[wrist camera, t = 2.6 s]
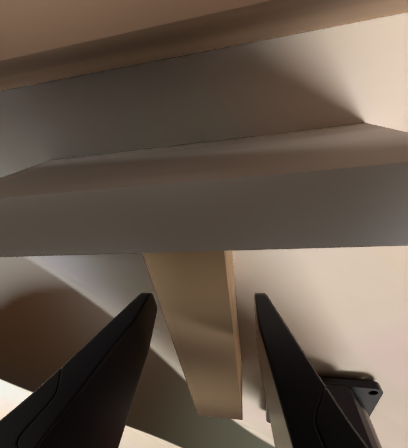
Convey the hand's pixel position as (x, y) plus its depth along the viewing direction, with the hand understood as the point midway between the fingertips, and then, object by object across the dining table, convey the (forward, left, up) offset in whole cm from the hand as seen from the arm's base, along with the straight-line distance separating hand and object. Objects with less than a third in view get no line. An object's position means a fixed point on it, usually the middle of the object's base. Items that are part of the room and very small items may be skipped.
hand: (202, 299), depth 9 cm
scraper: (-1, 0, -2) cm, 2 cm away
